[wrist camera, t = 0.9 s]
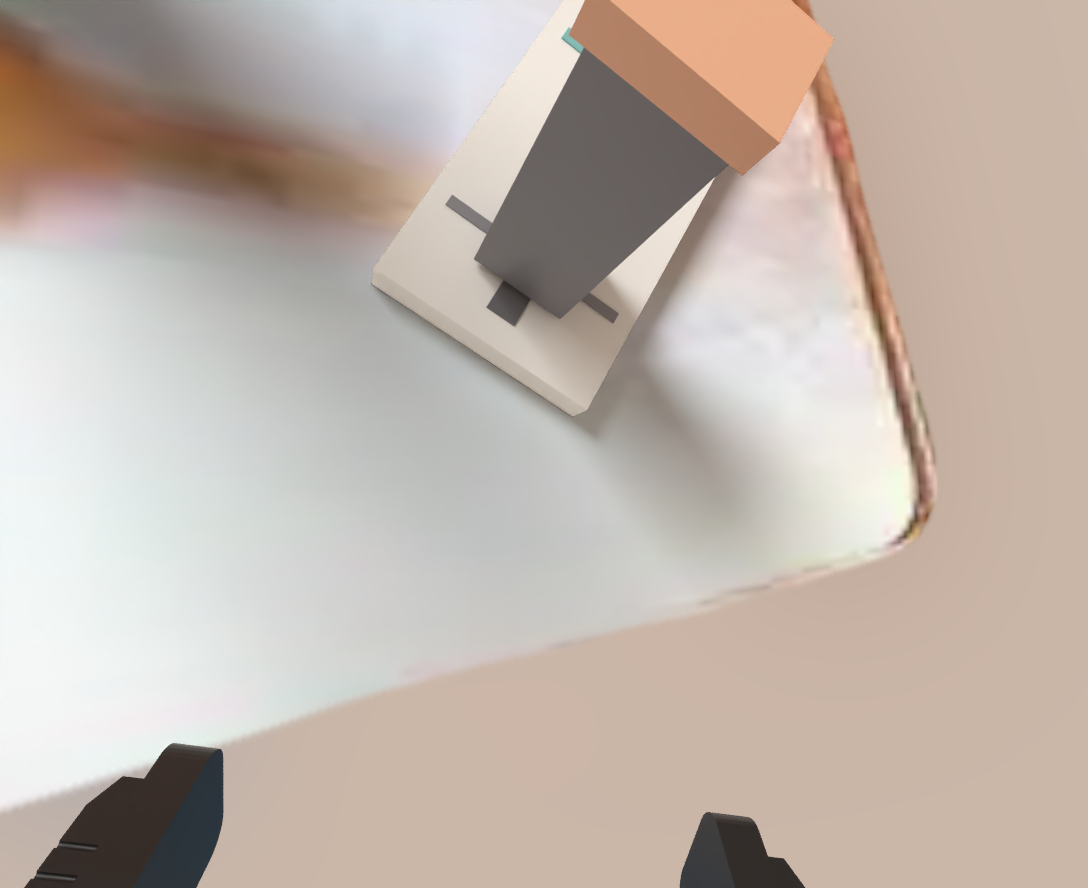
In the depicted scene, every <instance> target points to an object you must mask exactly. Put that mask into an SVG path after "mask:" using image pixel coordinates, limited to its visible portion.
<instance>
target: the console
mask: <svg viewBox="0 0 1088 888" xmlns="http://www.w3.org/2000/svg"><path fill="white" fill-rule="evenodd" d="M584 1H585V0H564V1H563V2H562V4H561V5H560V6H559V8H558V9H557V11H556V12H555V13H554V15H553V16H552V18H551V19H550V20H549V22H548V23H547V25H546V26H545V27H544V29H543V30H542V32H541V33H540V34H539V36H538V37H537V39H536V40H535V41H534V43H533V44H532V46H531V47H530V48H529V50H528V51H527V53H526V54H525V55H524V57H523V58H522V60H521V61H520V62H519V64H518V65H517V67H516V68H515V70H514V71H513V72H512V74H511V75H510V77H509V78H508V79H507V81H506V82H505V84H504V85H503V86H502V88H501V89H500V91H499V92H498V93H497V95H496V96H495V98H494V99H493V100H492V102H491V103H490V105H489V106H488V107H487V109H486V110H485V112H484V113H483V114H482V116H481V117H480V119H479V120H478V121H477V123H476V124H475V126H474V127H473V128H472V130H471V131H470V133H469V134H468V135H467V137H466V138H465V140H464V141H463V143H462V144H461V145H460V147H459V148H458V150H457V151H456V152H455V154H454V155H453V157H452V158H451V159H450V161H449V162H448V164H447V165H446V166H445V168H444V169H443V171H442V172H441V173H440V175H439V176H438V178H437V179H436V180H435V182H434V183H433V185H432V186H431V187H430V189H429V190H428V192H427V193H426V194H425V196H424V197H423V199H422V200H421V201H420V203H419V204H418V206H417V207H416V208H415V210H414V211H413V213H412V214H411V216H410V217H409V218H408V220H407V221H406V223H405V224H404V225H403V227H402V228H401V230H400V231H399V232H398V234H397V235H396V237H395V238H394V239H393V241H392V242H391V244H390V245H389V246H388V248H387V249H386V251H385V252H384V253H383V255H382V256H381V258H380V259H379V260H378V262H377V263H376V265H375V266H374V267H373V273H372V280H371V284H372V285H374V286H375V287H377V288H378V289H380V290H381V291H383V292H385V293H386V294H388V295H389V296H391V297H392V298H394V299H395V300H397V301H398V302H400V303H401V304H403V305H404V306H406V307H407V308H409V309H410V310H412V311H413V312H415V313H416V314H418V315H419V316H421V317H422V318H424V319H425V320H427V321H428V322H430V323H431V324H433V325H434V326H436V327H438V328H439V329H441V330H442V331H444V332H445V333H447V334H448V335H450V336H451V337H453V338H454V339H456V340H457V341H459V342H460V343H462V344H463V345H465V346H466V347H468V348H469V349H471V350H472V351H474V352H475V353H477V354H478V355H480V356H481V357H483V358H484V359H486V360H488V361H489V362H491V363H492V364H494V365H495V366H497V367H498V368H500V369H501V370H503V371H504V372H506V373H507V374H509V375H510V376H512V377H513V378H515V379H516V380H518V381H519V382H521V383H522V384H524V385H525V386H527V387H528V388H530V389H531V390H533V391H534V392H536V393H538V394H539V395H541V396H542V397H544V398H545V399H547V400H548V401H550V402H551V403H553V404H554V405H556V406H557V407H559V408H560V409H562V410H563V411H565V412H566V413H568V414H569V415H571V416H572V417H573V416H575V415H577V414H580V413H582V412H584V411H586V410H587V409H588V407H589V406H590V404H591V402H592V400H593V398H594V397H595V395H596V393H597V391H598V389H599V388H600V386H601V384H602V382H603V380H604V378H605V377H606V375H607V373H608V371H609V369H610V368H611V366H612V364H613V362H614V360H615V358H616V357H617V355H618V353H619V351H620V349H621V348H622V346H623V344H624V342H625V340H626V338H627V337H628V335H629V333H630V331H631V329H632V328H633V326H634V324H635V322H636V320H637V318H638V317H639V315H640V313H641V311H642V309H643V308H644V306H645V304H646V302H647V300H648V298H649V297H650V295H651V293H652V291H653V289H654V288H655V286H656V284H657V282H658V280H659V278H660V277H661V275H662V273H663V271H664V269H665V268H666V266H667V264H668V262H669V260H670V259H671V257H672V255H673V253H674V251H675V249H676V248H677V246H678V244H679V242H680V240H681V239H682V237H683V235H684V233H685V231H686V229H687V228H688V226H689V224H690V222H691V220H692V219H693V217H694V215H695V213H696V211H697V209H698V208H699V206H700V204H701V202H702V200H703V199H704V197H705V195H706V193H707V191H708V189H709V188H710V186H711V184H712V182H713V180H714V179H715V178H714V179H712V180H711V181H710V182H709V183H708V184H707V185H706V186H705V187H704V188H703V189H702V190H700V191H699V192H698V193H697V194H696V195H695V196H694V197H693V198H692V199H691V200H690V201H688V202H687V203H686V204H685V205H684V206H683V207H682V208H681V209H680V210H679V211H678V212H676V213H675V214H674V215H673V216H672V217H671V218H670V219H669V220H668V221H667V222H666V223H664V224H663V225H662V226H661V227H660V228H659V229H658V230H657V231H656V232H655V233H654V234H653V235H651V236H650V237H649V238H648V239H647V240H646V241H645V242H644V243H643V244H642V245H641V246H639V247H638V248H637V249H636V250H635V251H634V252H633V253H632V254H631V255H630V256H629V257H627V258H626V259H625V260H624V261H623V262H622V263H621V264H620V265H619V266H618V267H617V268H615V269H614V270H613V271H612V272H611V273H610V274H609V275H608V276H607V277H606V278H605V279H604V280H602V281H601V282H600V283H599V284H598V285H597V286H596V287H595V288H594V289H593V290H592V291H590V292H589V293H588V294H587V295H586V296H585V297H584V298H583V299H582V300H581V301H580V302H578V303H577V304H576V305H575V306H574V307H573V308H572V309H571V310H570V311H569V312H568V313H566V314H565V315H564V316H563V317H562V318H561V319H559V318H557V317H556V316H555V315H553V314H552V313H550V312H549V311H547V310H546V309H544V308H543V307H542V306H540V305H539V304H537V303H536V302H534V301H533V300H532V299H530V298H529V297H527V296H526V295H524V294H523V293H521V292H520V291H519V290H517V289H516V288H514V287H513V286H511V285H510V284H509V283H507V282H506V281H504V280H503V279H501V278H500V277H498V276H497V275H496V274H494V273H493V272H491V271H490V270H488V269H487V268H486V267H484V266H483V265H481V264H480V263H478V262H477V261H475V260H474V257H475V255H476V253H477V252H478V250H479V248H480V246H481V244H482V242H483V240H484V238H485V236H486V234H487V232H488V230H489V229H490V227H491V225H492V223H493V221H494V219H495V217H496V215H497V213H498V211H499V209H500V207H501V205H502V204H503V202H504V200H505V198H506V196H507V194H508V192H509V190H510V188H511V186H512V184H513V182H514V181H515V179H516V177H517V175H518V173H519V171H520V169H521V167H522V165H523V163H524V161H525V159H526V158H527V156H528V154H529V152H530V150H531V148H532V146H533V144H534V142H535V140H536V138H537V136H538V134H539V133H540V131H541V129H542V127H543V125H544V123H545V121H546V119H547V117H548V115H549V113H550V111H551V110H552V108H553V106H554V104H555V102H556V100H557V98H558V96H559V94H560V92H561V90H562V88H563V86H564V85H565V83H566V81H567V79H568V77H569V75H570V73H571V71H572V69H573V67H574V65H575V63H576V62H577V60H578V58H579V56H580V54H581V52H582V50H583V48H584V47H583V46H582V45H581V44H579V43H578V42H577V41H576V40H574V39H573V38H572V37H571V36H570V35H569V33H570V31H571V28H572V26H573V24H574V22H575V20H576V18H577V16H578V14H579V12H580V10H581V7H582V5H583V3H584Z"/></svg>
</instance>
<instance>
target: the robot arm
mask: <svg viewBox="0 0 1088 888" xmlns="http://www.w3.org/2000/svg"><path fill="white" fill-rule="evenodd" d="M222 821H223V753H222V750H221V749H216V748H208V747H201V746H193V745H185V744H177V743H172V744H170V745H169V746H168V747H167V748H166V749H165V750H164V751H163V752H162V754H161V755H160V756H159V758H158V759H157V761H156V762H155V764H154V765H153V767H152V768H151V769H150V771H149V772H148V774H147V775H146V777H145V778H144V779H141V778H133V777H124V776H123V777H121V778H120V779H119V780H118V781H116V782H115V783H114V784H112V785H111V786H110V787H109V788H107V789H106V790H105V791H103V792H102V793H101V794H100V795H98V796H97V797H96V798H95V799H93V800H92V801H91V802H89V803H88V804H87V805H86V806H85V807H84V809H83V810H82V812H81V813H80V814H79V815H78V817H77V818H76V819H75V821H74V822H73V823H72V825H71V826H70V828H69V829H68V830H67V831H66V833H65V834H64V835H63V837H62V838H61V839H60V842H59V845H58V846H57V848H54V849H53V850H52V851H51V853H50V854H49V856H48V857H47V858H46V859H45V861H44V862H43V864H42V865H41V866H40V867H39V869H38V870H37V874H36V876H35V878H34V879H31V880H30V881H29V882H28V884H27V885H26V886H25V887H24V888H196V887H197V885H198V883H199V881H200V879H201V877H202V875H203V873H204V871H205V869H206V867H207V865H208V863H209V861H210V859H211V857H212V854H213V852H214V849H215V847H216V844H217V841H218V838H219V834H220V830H221V826H222ZM680 888H805V887H804V885H803V884H802V883H801V882H800V880H799V879H798V877H797V876H796V875H795V874H794V872H793V870H792V869H791V868H790V866H789V865H788V864H787V862H786V861H785V860H784V859H783V858H774V857H768V855H767V853H766V850H765V847H764V844H763V841H762V838H761V835H760V833H759V830H758V828H757V825H756V824H755V822H754V821H753V820H752V819H751V818H749V817H743V816H735V815H726V814H719V813H711V812H707V813H705V814H704V815H703V817H702V819H701V822H700V825H699V827H698V830H697V833H696V835H695V838H694V841H693V843H692V846H691V849H690V851H689V854H688V857H687V859H686V862H685V865H684V867H683V870H682V874H681V880H680Z"/></svg>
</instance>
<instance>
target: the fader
mask: <svg viewBox="0 0 1088 888" xmlns="http://www.w3.org/2000/svg"><path fill="white" fill-rule="evenodd" d="M569 35H570V36H571V37H572V38H573V39H574V40H576V41H577V42H578V43H579V44H581V45H582V46H583V47H584V48H583V50H582V52H581V54H580V56H579V58H578V60H577V62H576V63H575V65H574V67H573V69H572V71H571V73H570V75H569V77H568V79H567V81H566V83H565V85H564V86H563V88H562V90H561V92H560V94H559V96H558V98H557V100H556V102H555V104H554V106H553V108H552V110H551V111H550V113H549V115H548V117H547V119H546V121H545V123H544V125H543V127H542V129H541V131H540V133H539V134H538V136H537V138H536V140H535V142H534V144H533V146H532V148H531V150H530V152H529V154H528V156H527V158H526V159H525V161H524V163H523V165H522V167H521V169H520V171H519V173H518V175H517V177H516V179H515V181H514V182H513V184H512V186H511V188H510V190H509V192H508V194H507V196H506V198H505V200H504V202H503V204H502V205H501V207H500V209H499V211H498V213H497V215H496V217H495V219H494V221H493V223H492V225H491V227H490V229H489V230H488V232H487V234H486V236H485V238H484V240H483V242H482V244H481V246H480V248H479V250H478V252H477V253H476V255H475V257H474V260H475V261H477V262H478V263H480V264H481V265H483V266H484V267H486V268H487V269H488V270H490V271H491V272H493V273H494V274H496V275H497V276H498V277H500V278H501V279H503V280H504V281H506V282H507V283H509V284H510V285H511V286H513V287H514V288H516V289H517V290H519V291H520V292H521V293H523V294H524V295H526V296H527V297H529V298H530V299H532V300H533V301H534V302H536V303H537V304H539V305H540V306H542V307H543V308H544V309H546V310H547V311H549V312H550V313H552V314H553V315H555V316H556V317H557V318H559V319H561V318H562V317H563V316H564V315H565V314H566V313H568V312H569V311H570V310H571V309H572V308H573V307H574V306H575V305H576V304H577V303H578V302H580V301H581V300H582V299H583V298H584V297H585V296H586V295H587V294H588V293H589V292H590V291H592V290H593V289H594V288H595V287H596V286H597V285H598V284H599V283H600V282H601V281H602V280H604V279H605V278H606V277H607V276H608V275H609V274H610V273H611V272H612V271H613V270H614V269H615V268H617V267H618V266H619V265H620V264H621V263H622V262H623V261H624V260H625V259H626V258H627V257H629V256H630V255H631V254H632V253H633V252H634V251H635V250H636V249H637V248H638V247H639V246H641V245H642V244H643V243H644V242H645V241H646V240H647V239H648V238H649V237H650V236H651V235H653V234H654V233H655V232H656V231H657V230H658V229H659V228H660V227H661V226H662V225H663V224H664V223H666V222H667V221H668V220H669V219H670V218H671V217H672V216H673V215H674V214H675V213H676V212H678V211H679V210H680V209H681V208H682V207H683V206H684V205H685V204H686V203H687V202H688V201H690V200H691V199H692V198H693V197H694V196H695V195H696V194H697V193H698V192H699V191H700V190H702V189H703V188H704V187H705V186H706V185H707V184H708V183H709V182H710V181H711V180H712V179H714V178H715V177H716V176H717V175H718V174H719V173H720V172H721V171H722V170H723V169H724V168H725V167H727V166H728V165H730V166H731V167H732V168H734V169H735V170H736V171H737V172H738V173H740V174H741V175H743V174H745V173H746V172H747V171H748V170H749V169H750V168H752V167H753V166H754V165H755V164H756V163H757V162H759V161H760V160H761V159H762V158H763V157H764V156H766V155H767V154H768V153H769V152H770V151H771V150H773V149H774V148H775V147H776V146H777V145H778V144H779V143H780V142H781V140H782V138H783V136H784V134H785V133H786V131H787V129H788V127H789V125H790V123H791V121H792V119H793V117H794V115H795V113H796V112H797V110H798V108H799V106H800V104H801V102H802V100H803V98H804V96H805V94H806V92H807V91H808V89H809V87H810V85H811V83H812V81H813V79H814V77H815V75H816V73H817V71H818V69H819V68H820V66H821V64H822V62H823V60H824V58H825V56H826V54H827V52H828V50H829V48H830V47H831V45H832V43H833V41H834V39H833V38H832V37H831V36H830V35H829V34H828V33H827V32H826V31H824V30H823V29H822V28H821V27H820V26H819V25H818V24H817V23H816V22H814V21H813V20H812V19H811V18H810V17H809V16H808V15H807V14H806V13H805V12H803V11H802V10H801V9H800V8H799V7H798V6H797V5H796V4H795V3H793V2H792V1H791V0H585V1H584V3H583V5H582V7H581V10H580V12H579V14H578V16H577V18H576V20H575V22H574V24H573V26H572V28H571V31H570V33H569Z"/></svg>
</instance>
